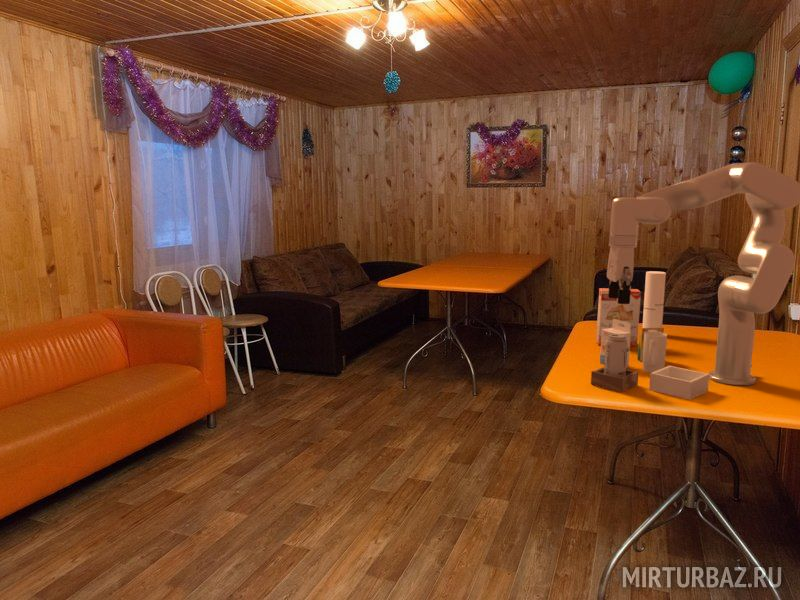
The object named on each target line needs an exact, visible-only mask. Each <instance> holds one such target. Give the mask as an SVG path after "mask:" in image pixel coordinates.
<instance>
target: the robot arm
mask: <svg viewBox="0 0 800 600" xmlns="http://www.w3.org/2000/svg"><path fill="white" fill-rule="evenodd" d="M738 194H744V195H745V200H746V202H747V205H748V206H749V208H750V211H751V213H752V224H751V228H750V231H749V233H748V234H747V236H746V238H745V241H744V243H743V244H742V245H743V246H742V248H741V250H740V252H739V254H738V257H737V266H738V267H739V268H740V270H742V271H744V272H746V273H749V274H753V275H754V277H749V276H745V275H730V276H727V277H726V278H724V279H723V280H722V281H721V282H720V284H719V286H718V290H717V301H718V307H719V309H718V312H719V315H718V316H719V317H718V318H719V319H718V330H717V341H716V349H715V350H716V353H715V361H714V363H715V364H714V370H710V371H709V372H708V374H709V380H712V381H714V382H718V383H722V384H725V385H731V386H750V385H754V384H755V383H756V381H757V378H756V377H755V376H754V375H752V374H751V370H752V367H753V364H752V361H753V360H752V359H753V351H754V350H753V349H754V340H755V332H756V331H755V330H756V319H755V318H756V317H755V314H757V315H758V314H760V315H761V314H766V313H770V312H771V311H772V310H773V309H774V308H775V307H776V305H777V304H778V303H779V301H780V299H781V297H782V295H783V292H784V291H785V289H786V286H787V284H788V283H789V280H790V278H791V276H792V274H793V271H794V268H795V264H796V261H795V254H794V252H793V251H792V249H791V248H790V247H788V246H787V245H784V244H782V243H781V242H782V239H783V236H784V234H785V232H786V228H787V226H786V225H787V222H786V217H785V213H784V211H785V210H786V211H787V210H791V209H793V208H795V207H797V206H798V205H799V204H800V183H799V181H797V180H796V179H794V178H792V177H790V176H788V175H786V174H783V173H781V172H779V171H778V170H775V169H773V168H771V167H769V166H767V165H764V164H761V163H759V162H755V161H754V162H752V161H751V162H750V161H749V162H736V163H731V164H727V165H725V166H722V167H720V168H717V169H714V170H711V171H709V172H707V173H704V174H702V175H701V174H700V175H698V176H696V177H693V178H690V179H688V180H687V179H686V180H683V181H680V182H677V183H674V184H671V185H668V186H665V187H661V188H659V189H655V190H652V191H649V192H647V193H645V194H642V195H640V196H637V197H616V198H614V199H613V200H612V201H611V202H612V203H611V213H610V225H609V226H610V227H609V237H608V238H609V240H608V247H609V253H608V259H607V260H608V261H607V269H606V278H607V279H608V280H609V283H608V289H609V293H608V297H609V298H618V304H629V303H630V293H631V289H632V281H633V277H634V266H635V265H634V264H635V262H634V261H635V259H634V258H635V248H637V247H638V237H639V236H638V235H639V227H640V226H639V224H648V225H659V224H663V223H666V221H668V220H669V218H670V217H671V215H672V212H675V211H682V210H693V209H698V208H702V207H705V206H707V205H710V204H713V203H716V202H717V201H721V200H723V199H726V198H729V197H731V196H733V195H738Z"/></svg>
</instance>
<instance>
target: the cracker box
mask: <svg viewBox="0 0 800 600" xmlns="http://www.w3.org/2000/svg"><path fill="white" fill-rule="evenodd" d="M598 291H599V292H598V309H597V320H596V334H595V335H596V338H595V342H596V344H597V346H601V334H602V329H607V328H612V320H613V319H616V320H620V321H624V322H627V323H630V324H631V331H630V333H631V336H630V347H637V348H638V340H639V324H640V312H641V299H642V298H641V295H642V292H641V291H640V290H639V289H637V288H635V289H634V288H631V293H630V303H629V304H618V298H609V297H608V293H609V287H608V288H605V287H603V288H602V287H601V288H598ZM618 325H619V326H622V327H625V326H624V325H622V324H618Z"/></svg>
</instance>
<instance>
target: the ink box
mask: <svg viewBox="0 0 800 600" xmlns="http://www.w3.org/2000/svg"><path fill="white" fill-rule="evenodd" d="M618 324H622V325H624V326H625V327H622V326H619V325H618ZM630 331H631V324H630V323H627V322H624V321H620V320H616V319H613V320H612V328H607V329H602V334H601V345H600V351H599V353H600V354H599V355H600V356H599V363H600V364H602V363H603V365H605V346H606V339H607V338H608V335H609V334H622V335H625V336H626V340H627V342H628V344H627V360H626V369H627V368H629V367H630V366H629V365H630V364H629V363H630V349H631V346H630V336H631V333H630Z"/></svg>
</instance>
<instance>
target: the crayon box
mask: <svg viewBox="0 0 800 600" xmlns="http://www.w3.org/2000/svg"><path fill="white" fill-rule="evenodd" d="M664 328H665V327H662V328H641V329H642V330H641V331H638V341H637V361H638V362H640V363H643V349H644V333H645V332H649V331H648V330H652V329H654V330H658V331H657V332H661V333H664Z"/></svg>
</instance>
